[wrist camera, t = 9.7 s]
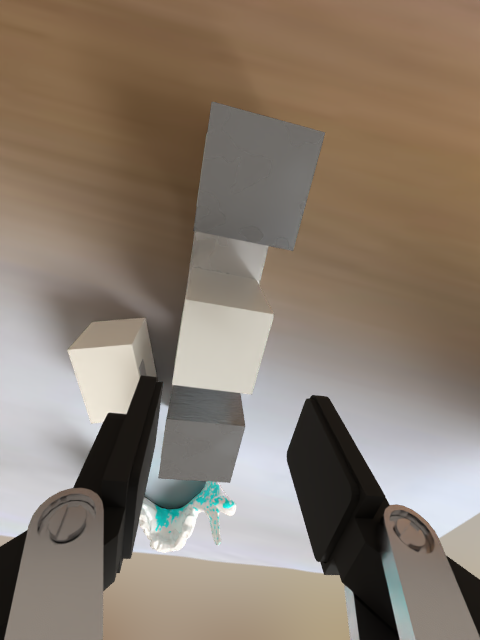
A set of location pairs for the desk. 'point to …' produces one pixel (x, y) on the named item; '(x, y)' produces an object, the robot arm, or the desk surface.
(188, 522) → the jawbone
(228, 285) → the block
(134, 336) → the block
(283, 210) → the rail
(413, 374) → the desk surface
